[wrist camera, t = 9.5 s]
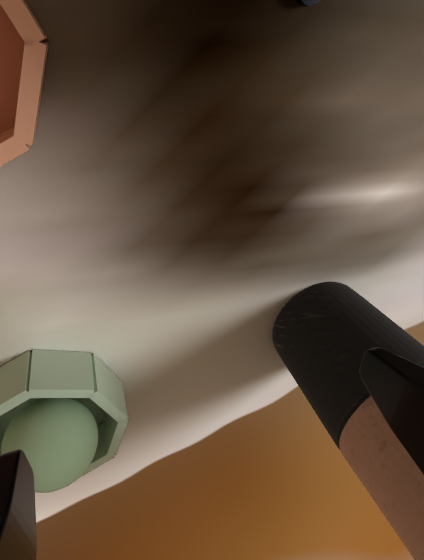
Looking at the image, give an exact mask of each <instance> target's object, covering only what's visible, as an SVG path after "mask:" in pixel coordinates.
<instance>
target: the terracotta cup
mask: <svg viewBox="0 0 424 560" xmlns="http://www.w3.org/2000/svg"><path fill="white" fill-rule="evenodd" d="M45 39H47V36H46V35H45V33H44V31H43V30H42V28H41V26H40V25H39V23H38V21H37V19H36V18H35V16H34V14H33V13H32V11H31V9H30V8H29V6H28V4H27V3H26V1H25V0H0V166H1V165H3V164H5V163H7V162H9V161H10V160H12V159H14V158H16V157H18V156H19V155H21V154H23V153H25V152H26V151H28V150H29V149H30V146H32V144H33V141H34V137H35V133H36V129H37V122H38V115H39V108H40V101H41V94H42V87H43V81H44V74H45V67H46V60H47V53H48V46H49V44H48V43H46V42H43V40H45Z"/></svg>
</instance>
